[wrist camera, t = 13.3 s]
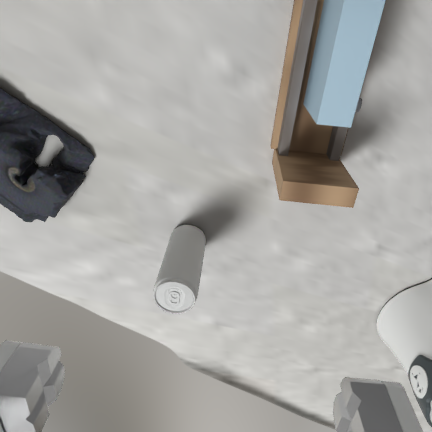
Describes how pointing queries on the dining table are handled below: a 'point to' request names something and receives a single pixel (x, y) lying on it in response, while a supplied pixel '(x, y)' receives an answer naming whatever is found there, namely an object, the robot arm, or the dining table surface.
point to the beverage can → (180, 270)
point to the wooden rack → (306, 126)
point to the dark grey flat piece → (26, 167)
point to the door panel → (341, 59)
